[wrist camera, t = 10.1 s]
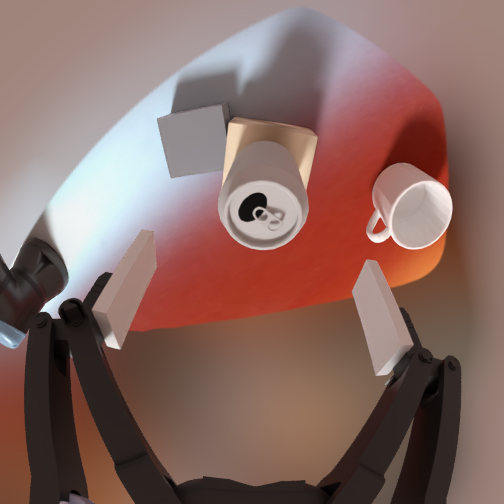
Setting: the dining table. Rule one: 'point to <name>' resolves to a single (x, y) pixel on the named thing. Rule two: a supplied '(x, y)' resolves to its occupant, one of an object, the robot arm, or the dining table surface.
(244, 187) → the can
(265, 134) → the birch block
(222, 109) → the slate block
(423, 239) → the mug
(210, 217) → the dining table surface
